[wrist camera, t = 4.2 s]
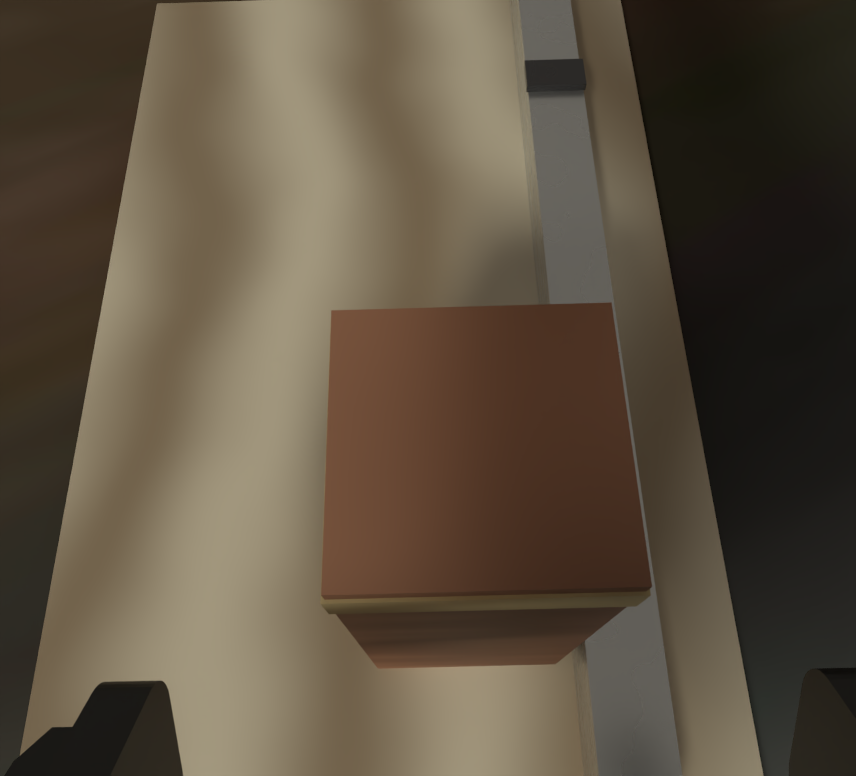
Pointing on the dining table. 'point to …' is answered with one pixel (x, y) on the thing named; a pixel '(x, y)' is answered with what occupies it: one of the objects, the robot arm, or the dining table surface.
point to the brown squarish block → (478, 483)
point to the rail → (591, 283)
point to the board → (308, 389)
